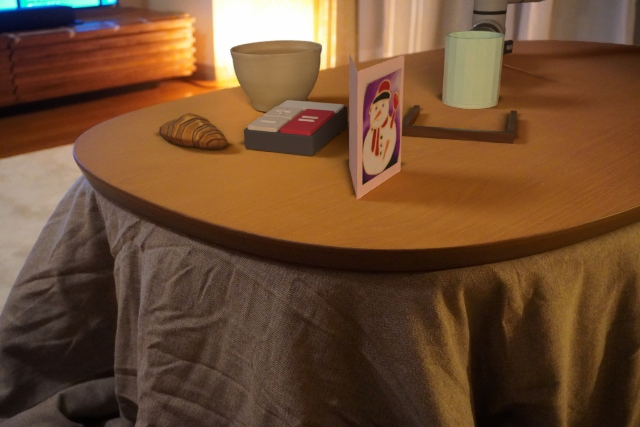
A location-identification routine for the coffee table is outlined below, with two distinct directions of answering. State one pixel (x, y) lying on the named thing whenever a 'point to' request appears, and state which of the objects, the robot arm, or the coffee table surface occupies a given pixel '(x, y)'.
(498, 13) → the robot arm
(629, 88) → the coffee table surface
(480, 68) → the cup
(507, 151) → the coffee table surface
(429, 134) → the bay
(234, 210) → the coffee table surface
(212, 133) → the croissant
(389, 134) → the greeting card
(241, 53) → the planter bowl
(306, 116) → the calculator
